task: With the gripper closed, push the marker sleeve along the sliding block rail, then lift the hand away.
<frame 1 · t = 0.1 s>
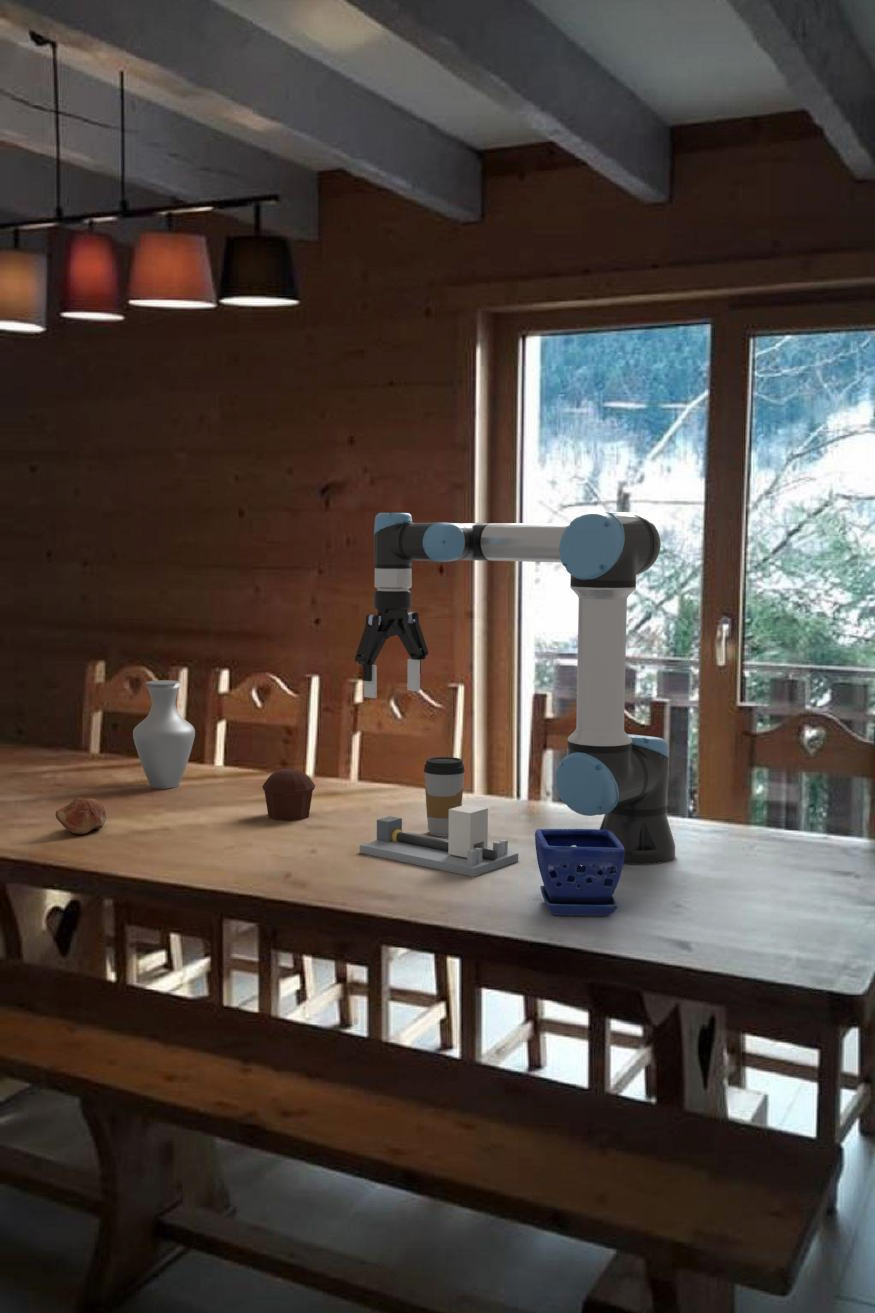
hand: (392, 694, 265), 28 cm above the table, fingers open, 13 cm apart
vase: (164, 787, 310), on the table
coffee cup: (443, 833, 265), on the table
flower pot: (577, 909, 213), on the table
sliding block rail: (438, 856, 246), on the table
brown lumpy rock: (81, 833, 264), on the table
marker sleeve: (468, 831, 241), point 6 cm above the table, slide at 0.0 cm
muffin: (288, 817, 280), on the table
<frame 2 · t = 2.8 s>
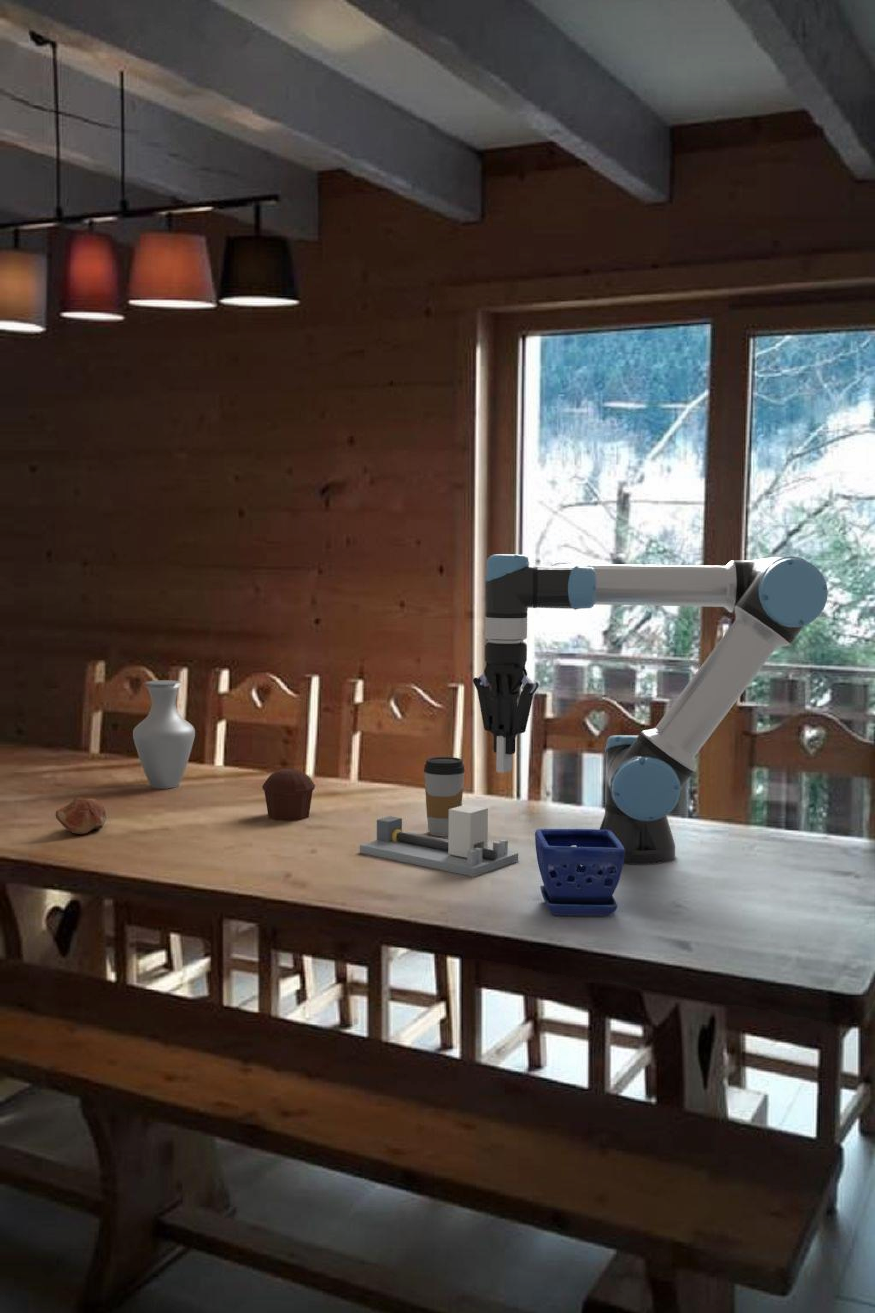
hand: (504, 771, 235), 18 cm above the table, fingers closed
nothing on the table moved.
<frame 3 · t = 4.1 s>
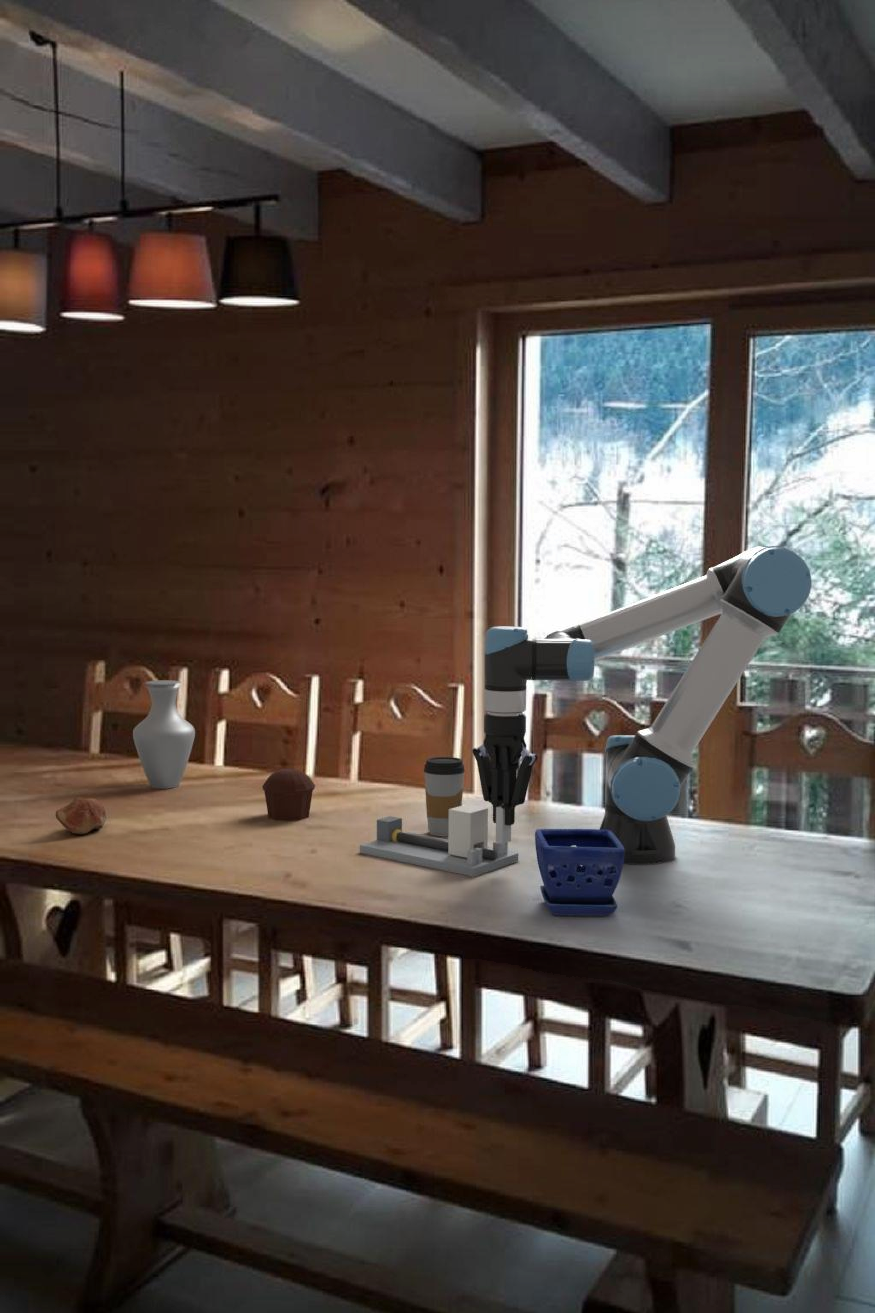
hand: (503, 841, 236), 5 cm above the table, fingers closed
nothing on the table moved.
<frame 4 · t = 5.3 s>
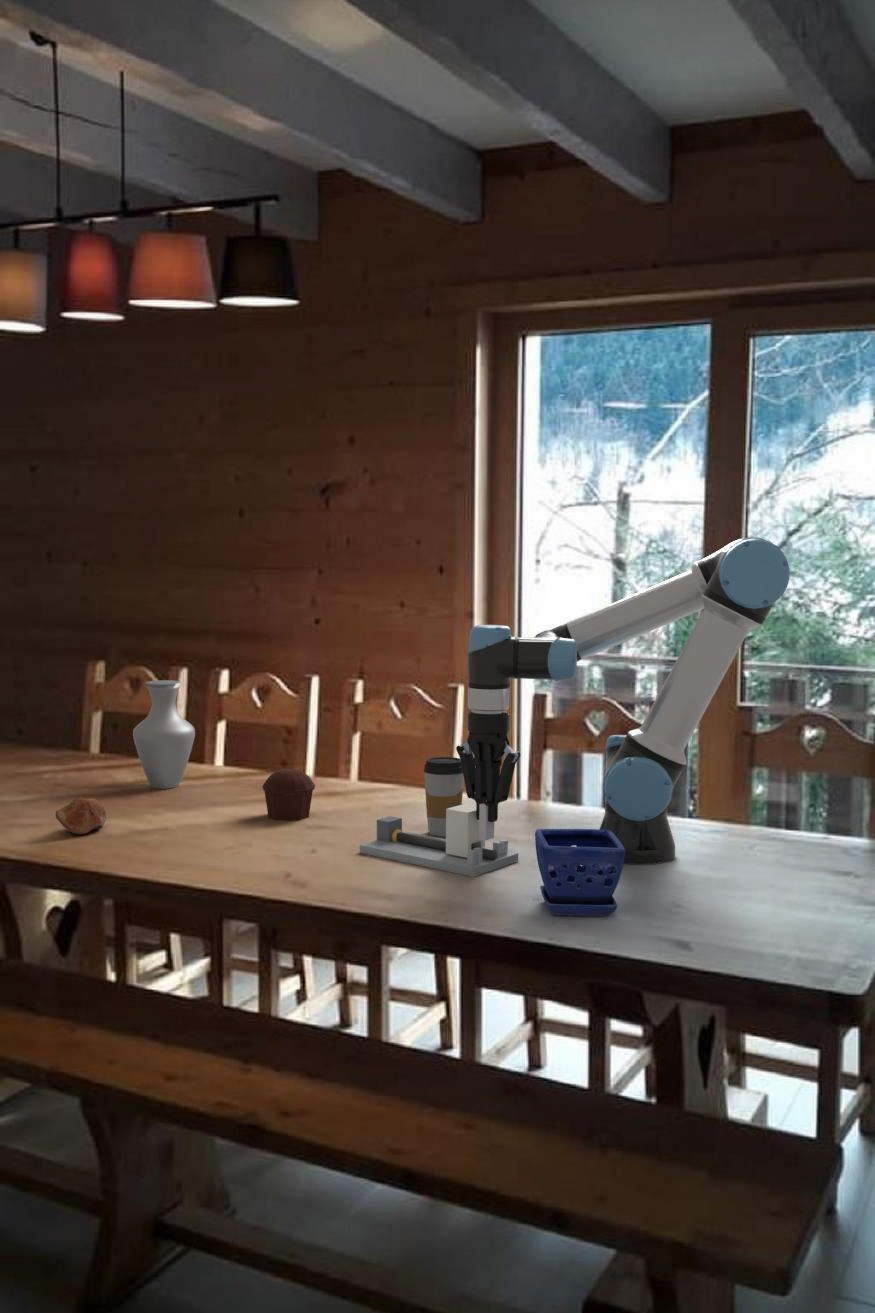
hand: (486, 838, 238), 5 cm above the table, fingers closed
marker sleeve: (465, 830, 241), point 6 cm above the table, slide at 0.6 cm, touching gripper
everything else where it was.
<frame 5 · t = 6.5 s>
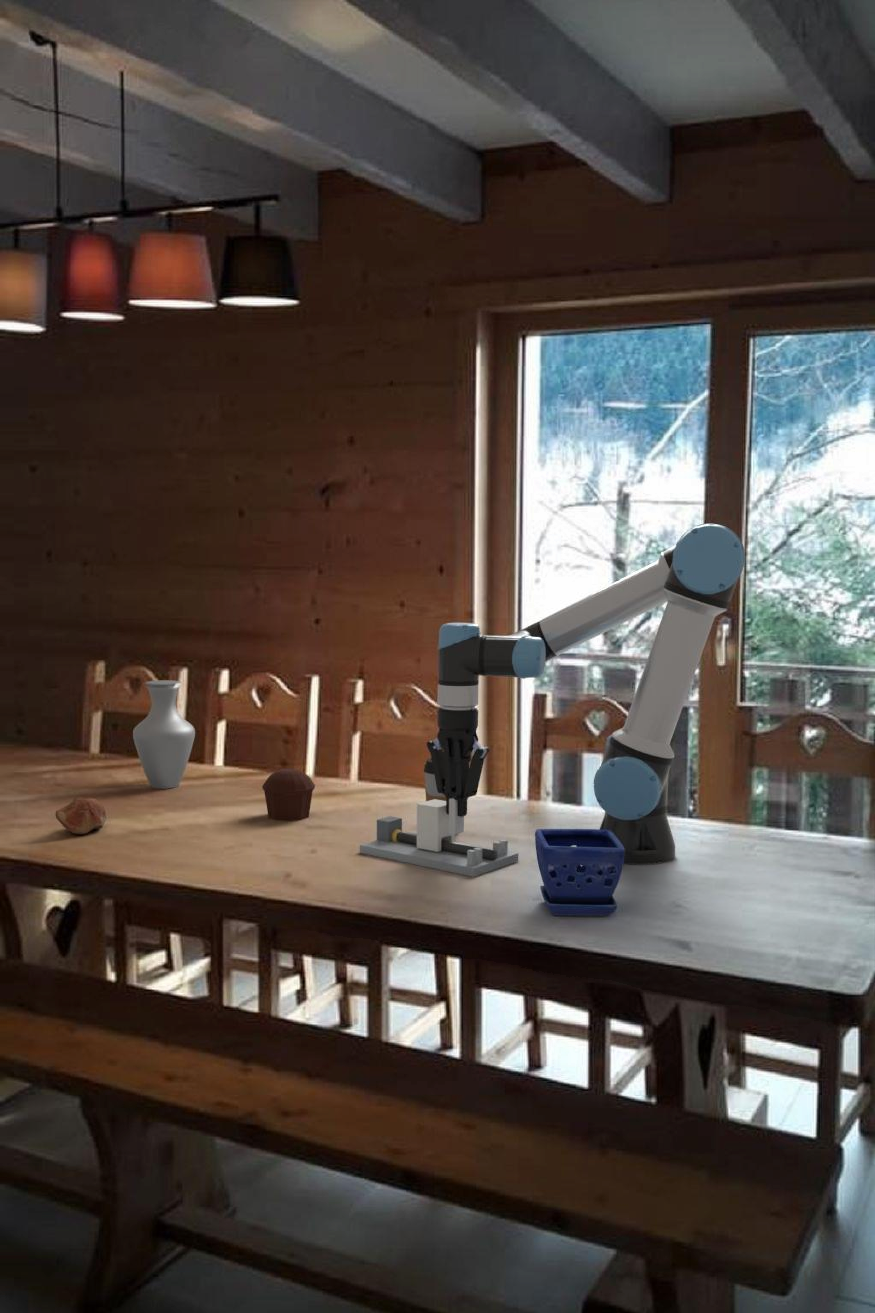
hand: (456, 832, 243), 5 cm above the table, fingers closed
marker sleeve: (436, 825, 246), point 6 cm above the table, slide at 7.5 cm, touching gripper
everything else where it was.
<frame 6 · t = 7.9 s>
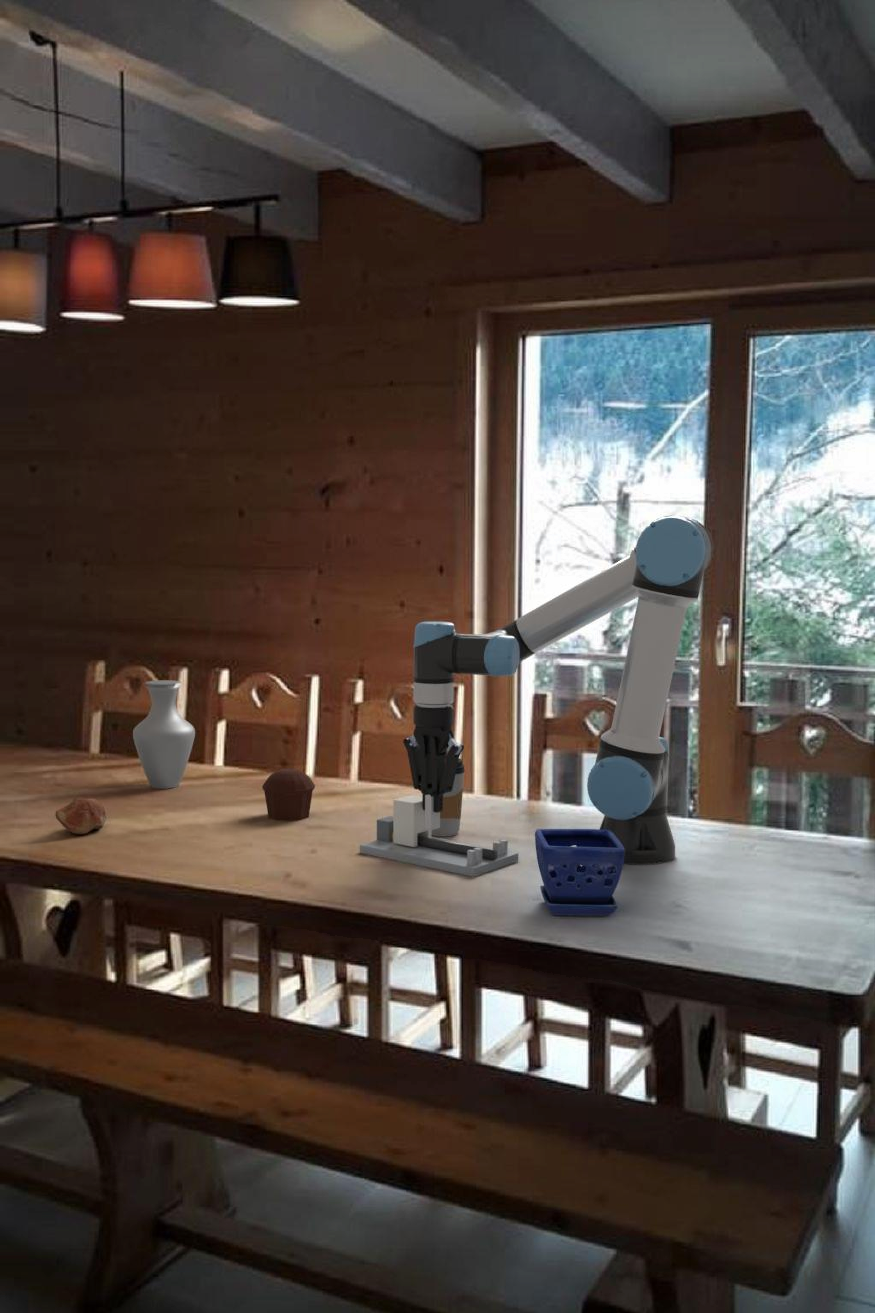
hand: (432, 828, 246), 5 cm above the table, fingers closed
marker sleeve: (412, 820, 249), point 6 cm above the table, slide at 13.2 cm, touching gripper
everything else where it was.
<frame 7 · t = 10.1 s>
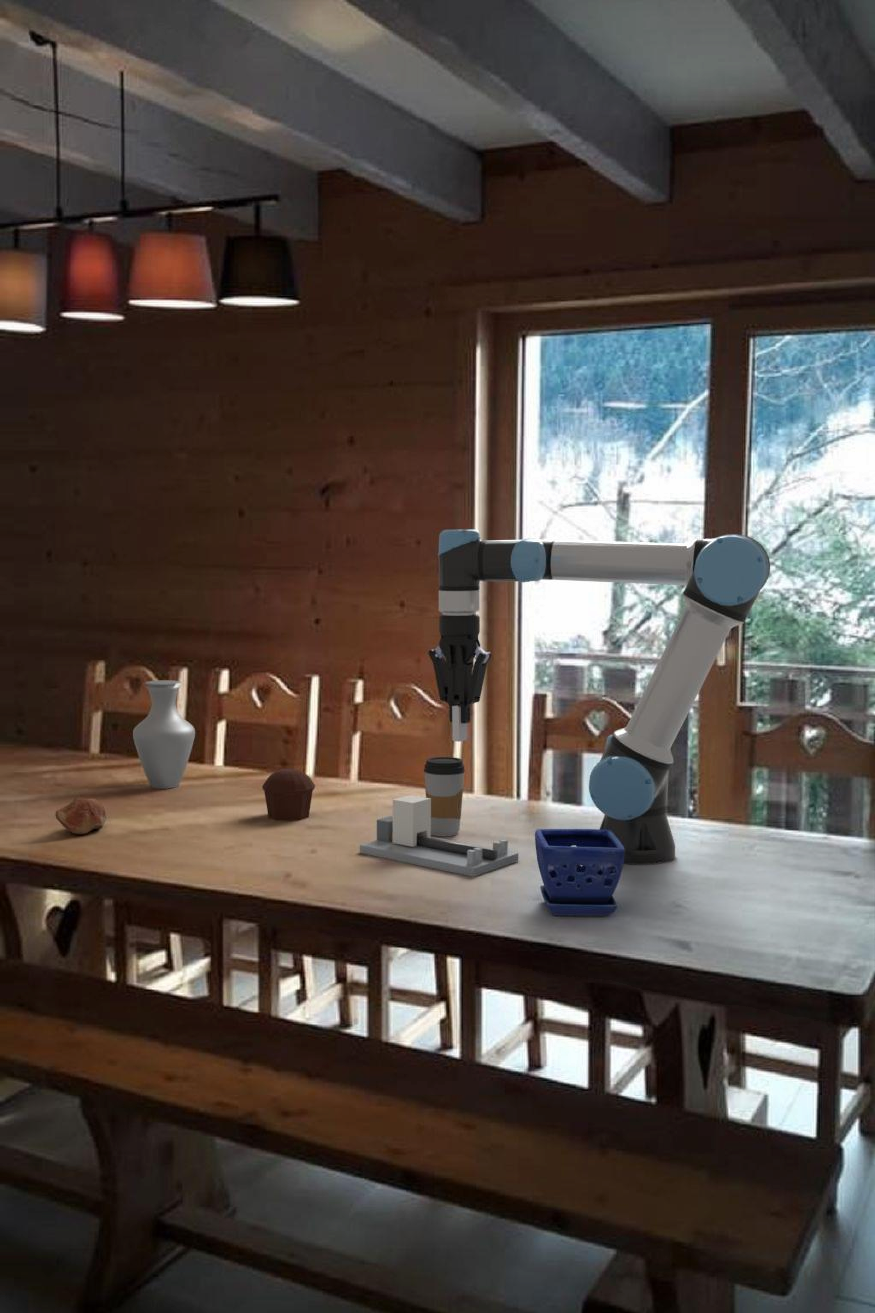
hand: (460, 740, 242), 22 cm above the table, fingers closed
marker sleeve: (411, 820, 249), point 6 cm above the table, slide at 13.4 cm
everything else where it was.
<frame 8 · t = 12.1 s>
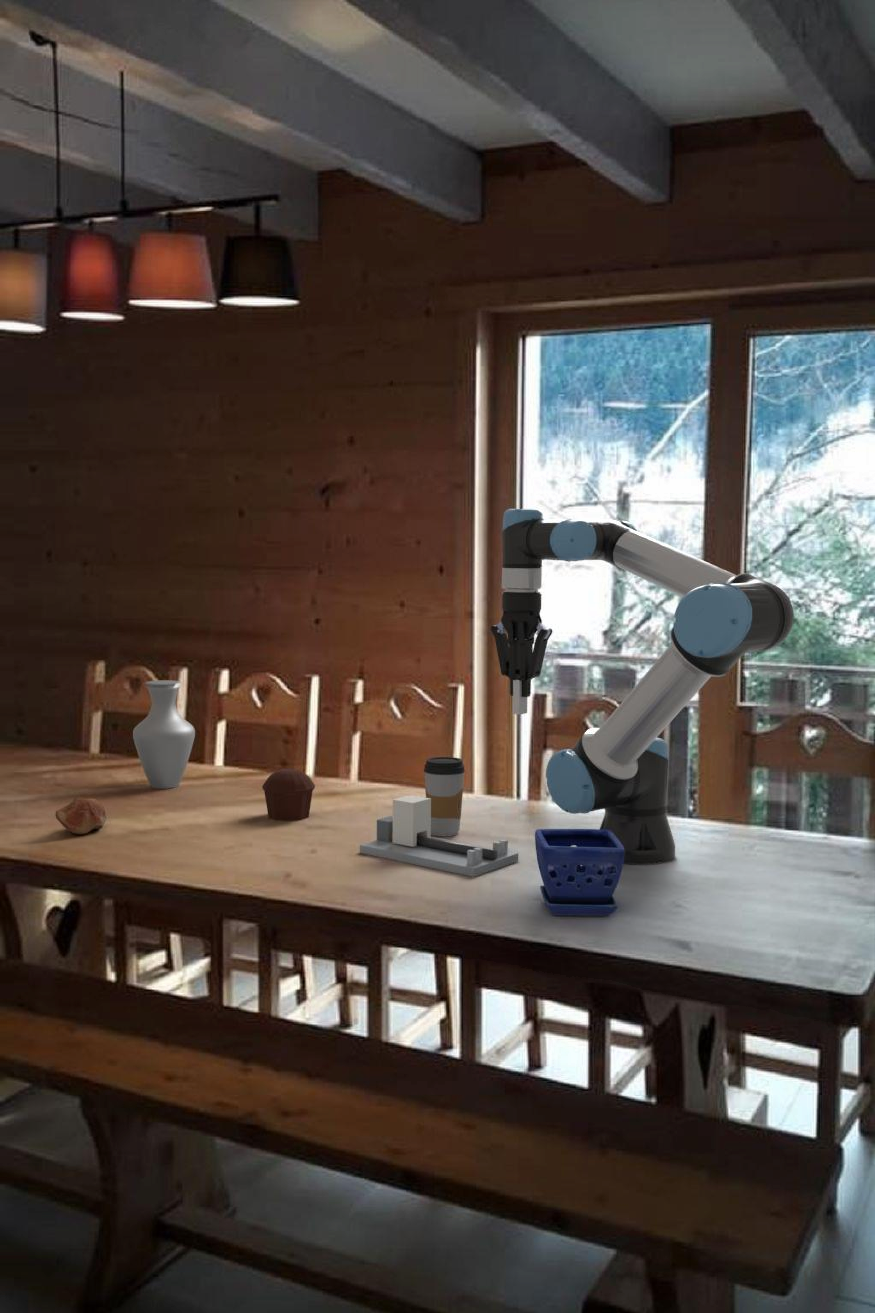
hand: (520, 713, 250), 26 cm above the table, fingers closed
nothing on the table moved.
at the end: marker sleeve slide at 13.4 cm; marker sleeve touching nothing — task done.
